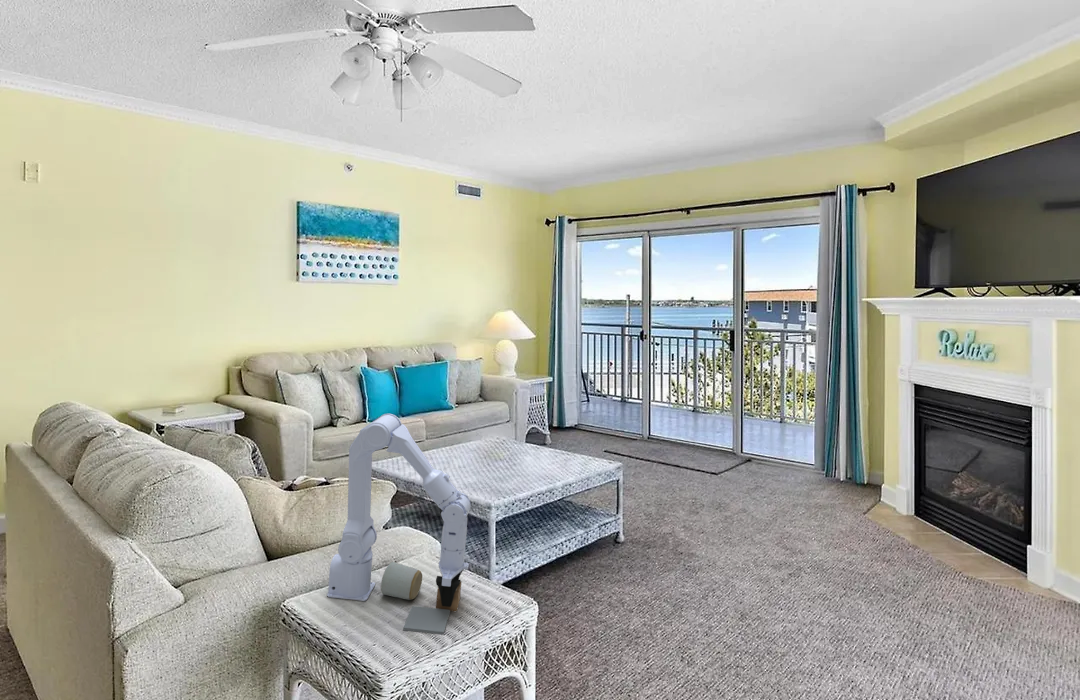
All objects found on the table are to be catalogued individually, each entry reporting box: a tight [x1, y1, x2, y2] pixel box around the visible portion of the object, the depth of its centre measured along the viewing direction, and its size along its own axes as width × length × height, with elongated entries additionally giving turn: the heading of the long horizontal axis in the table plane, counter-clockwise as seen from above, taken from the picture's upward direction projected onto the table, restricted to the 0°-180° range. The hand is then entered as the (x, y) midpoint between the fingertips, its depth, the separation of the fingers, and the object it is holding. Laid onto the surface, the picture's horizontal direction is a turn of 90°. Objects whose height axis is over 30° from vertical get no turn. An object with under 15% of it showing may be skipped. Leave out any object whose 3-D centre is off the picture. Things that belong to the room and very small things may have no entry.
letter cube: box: [435, 580, 462, 612], centre depth 150 cm, size 5×5×5 cm
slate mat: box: [402, 605, 451, 636], centre depth 142 cm, size 9×9×1 cm
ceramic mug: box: [380, 561, 423, 601], centre depth 153 cm, size 11×8×8 cm
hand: (448, 599), depth 150 cm, fingers closed on letter cube, 5 cm apart
